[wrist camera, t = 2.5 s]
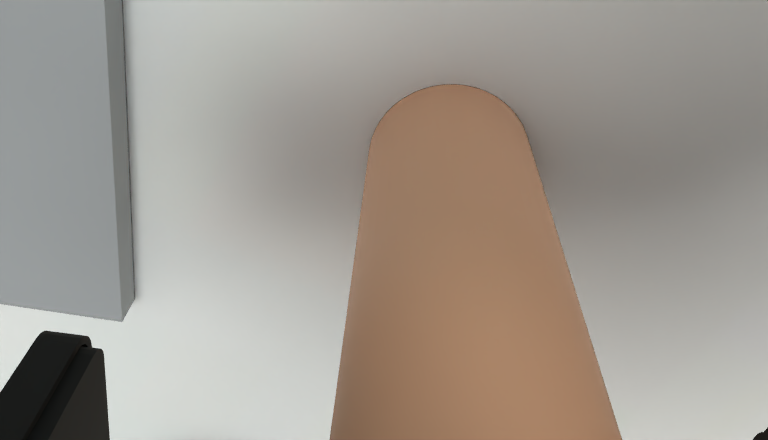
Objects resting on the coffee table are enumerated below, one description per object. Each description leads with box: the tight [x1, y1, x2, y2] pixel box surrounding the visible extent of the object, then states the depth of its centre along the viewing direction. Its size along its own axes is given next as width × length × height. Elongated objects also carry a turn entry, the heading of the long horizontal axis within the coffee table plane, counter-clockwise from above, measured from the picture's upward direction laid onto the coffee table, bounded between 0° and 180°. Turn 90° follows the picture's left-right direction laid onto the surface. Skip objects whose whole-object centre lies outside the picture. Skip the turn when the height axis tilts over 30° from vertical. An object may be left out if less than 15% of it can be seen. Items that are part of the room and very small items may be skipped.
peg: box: [330, 84, 622, 440], centre depth 11 cm, size 4×4×14 cm
